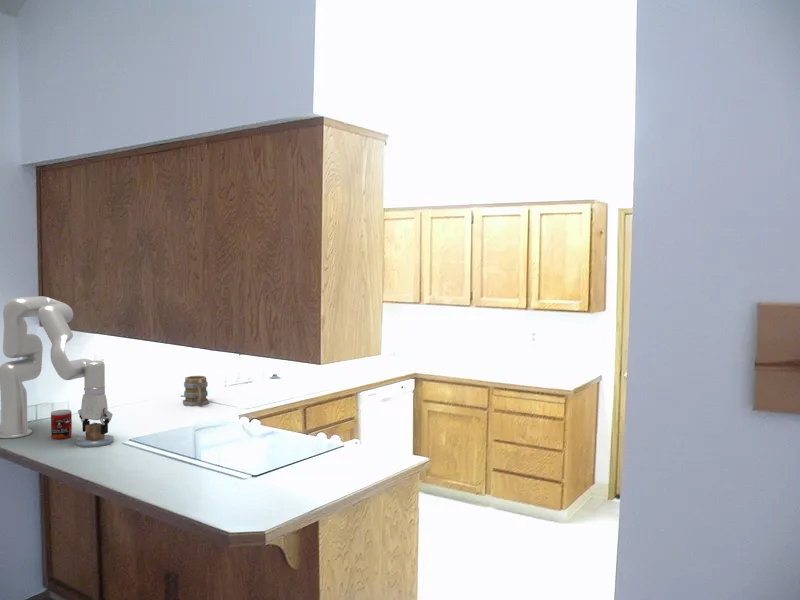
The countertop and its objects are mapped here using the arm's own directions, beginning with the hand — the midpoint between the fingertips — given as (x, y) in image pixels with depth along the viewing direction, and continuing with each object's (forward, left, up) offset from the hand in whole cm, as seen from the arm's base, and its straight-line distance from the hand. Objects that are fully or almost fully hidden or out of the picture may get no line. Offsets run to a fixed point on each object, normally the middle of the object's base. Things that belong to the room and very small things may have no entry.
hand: (95, 432), depth 264 cm
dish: (0, 0, -4) cm, 4 cm away
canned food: (-19, 0, -4) cm, 20 cm away
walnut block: (0, 0, -3) cm, 3 cm away
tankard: (-7, +74, -5) cm, 74 cm away
